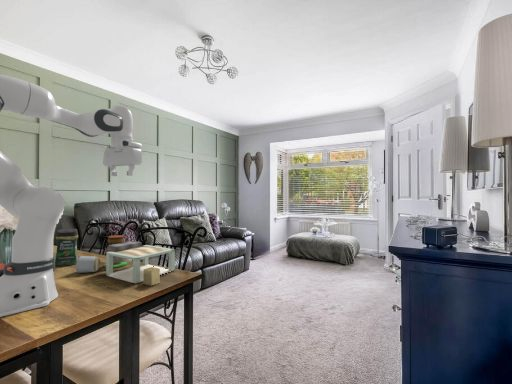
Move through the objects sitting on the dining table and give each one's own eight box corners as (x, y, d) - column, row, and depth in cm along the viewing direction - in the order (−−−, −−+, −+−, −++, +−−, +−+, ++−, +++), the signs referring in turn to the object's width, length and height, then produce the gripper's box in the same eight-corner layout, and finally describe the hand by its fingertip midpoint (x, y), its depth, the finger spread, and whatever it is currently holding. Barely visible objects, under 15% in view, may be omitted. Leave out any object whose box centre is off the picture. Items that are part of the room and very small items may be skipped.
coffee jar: (53, 267, 134) (53, 230, 134) (57, 263, 141) (57, 228, 141) (76, 265, 138) (76, 229, 139) (78, 261, 145) (79, 227, 146)
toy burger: (95, 266, 136) (96, 237, 136) (118, 261, 147) (119, 234, 147) (110, 269, 130) (110, 239, 130) (133, 264, 141) (133, 235, 142)
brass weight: (151, 286, 108) (151, 271, 108) (143, 283, 110) (143, 269, 110) (159, 283, 111) (159, 268, 111) (151, 281, 114) (151, 267, 114)
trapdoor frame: (135, 283, 110) (135, 258, 110) (106, 275, 121) (106, 252, 121) (174, 271, 128) (174, 249, 129) (146, 265, 139) (146, 244, 139)
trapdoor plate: (137, 263, 114) (137, 251, 114) (105, 256, 126) (105, 245, 126) (167, 255, 128) (167, 245, 128) (135, 250, 140) (135, 240, 140)
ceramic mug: (95, 273, 124) (95, 257, 124) (75, 275, 122) (75, 258, 122) (102, 268, 134) (102, 252, 134) (84, 269, 132) (84, 253, 132)
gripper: (99, 145, 120) (99, 175, 120) (132, 141, 112) (132, 174, 111) (111, 147, 126) (111, 176, 125) (144, 144, 117) (144, 175, 117)
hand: (121, 175), depth 118 cm, fingers open, 8 cm apart
